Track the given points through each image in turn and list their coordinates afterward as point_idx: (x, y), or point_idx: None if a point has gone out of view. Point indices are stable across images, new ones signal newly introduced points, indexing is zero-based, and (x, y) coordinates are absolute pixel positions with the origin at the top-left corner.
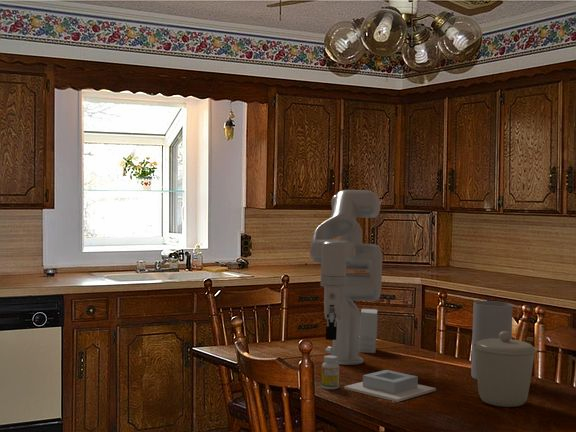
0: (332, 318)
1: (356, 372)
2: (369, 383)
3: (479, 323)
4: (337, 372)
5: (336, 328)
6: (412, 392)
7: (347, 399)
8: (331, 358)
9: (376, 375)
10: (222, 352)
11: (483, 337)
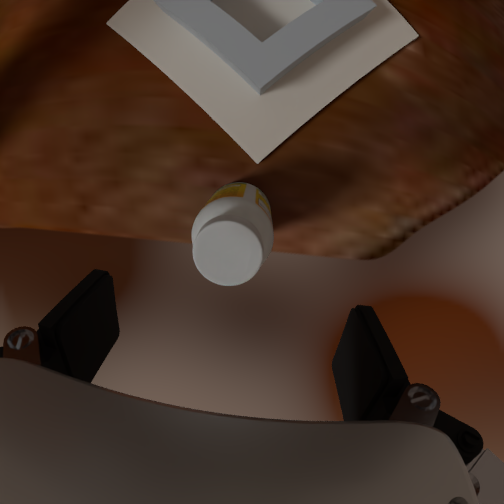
0: (489, 461)
1: (36, 115)
2: (286, 71)
3: None
4: (261, 202)
5: (400, 367)
6: None
7: (393, 177)
8: (262, 254)
9: (251, 33)
10: None
11: None
